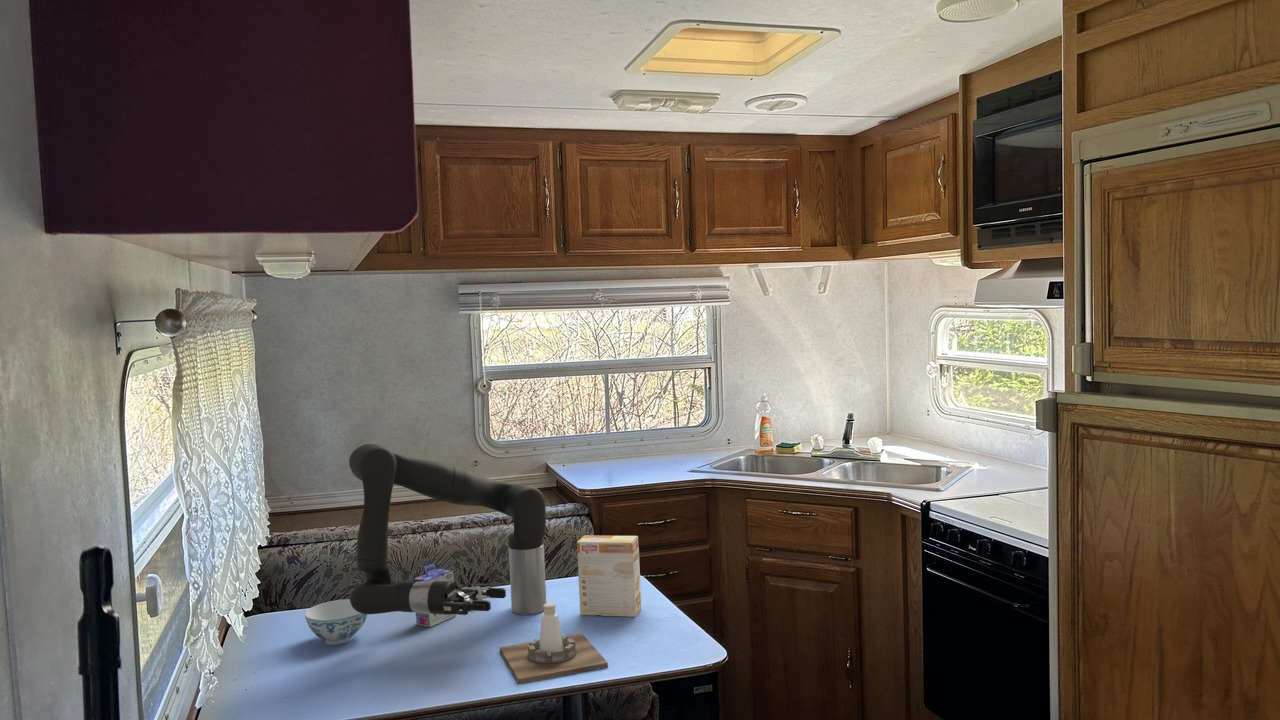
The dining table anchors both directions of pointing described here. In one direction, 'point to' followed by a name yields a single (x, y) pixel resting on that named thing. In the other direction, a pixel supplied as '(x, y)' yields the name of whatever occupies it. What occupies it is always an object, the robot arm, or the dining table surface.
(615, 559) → the coffeecake box
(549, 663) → the collar board
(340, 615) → the chinaware
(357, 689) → the dining table surface
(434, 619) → the ink cartridge box
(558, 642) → the pepper shaker
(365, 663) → the dining table surface
